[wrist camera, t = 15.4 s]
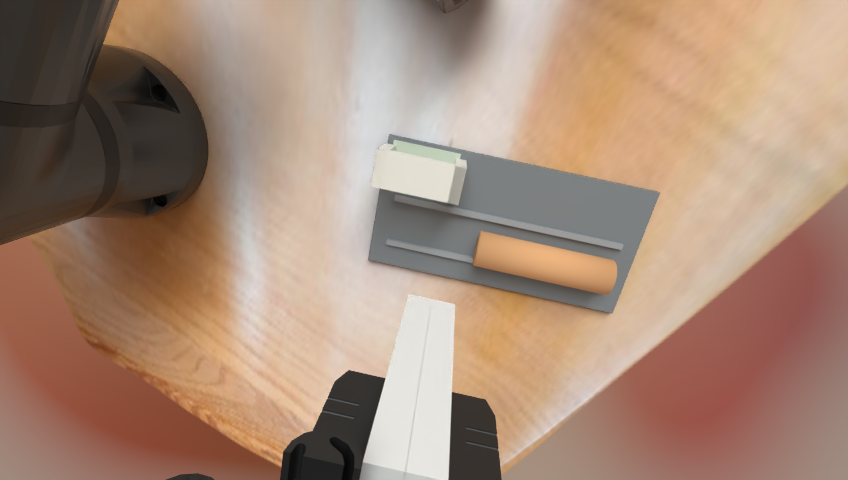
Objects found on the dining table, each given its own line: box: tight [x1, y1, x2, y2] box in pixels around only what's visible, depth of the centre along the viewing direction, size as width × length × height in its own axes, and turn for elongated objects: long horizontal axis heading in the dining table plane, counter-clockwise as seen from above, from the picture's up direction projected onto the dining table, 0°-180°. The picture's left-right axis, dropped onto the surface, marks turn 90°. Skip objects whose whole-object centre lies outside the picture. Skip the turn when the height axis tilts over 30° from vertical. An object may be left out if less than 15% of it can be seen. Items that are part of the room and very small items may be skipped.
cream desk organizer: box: [370, 143, 467, 205], centre depth 36 cm, size 3×7×4 cm, turn 79°
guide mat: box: [368, 134, 660, 313], centre depth 39 cm, size 24×12×1 cm, turn 79°
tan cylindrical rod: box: [473, 231, 617, 295], centre depth 38 cm, size 12×3×3 cm, turn 78°
